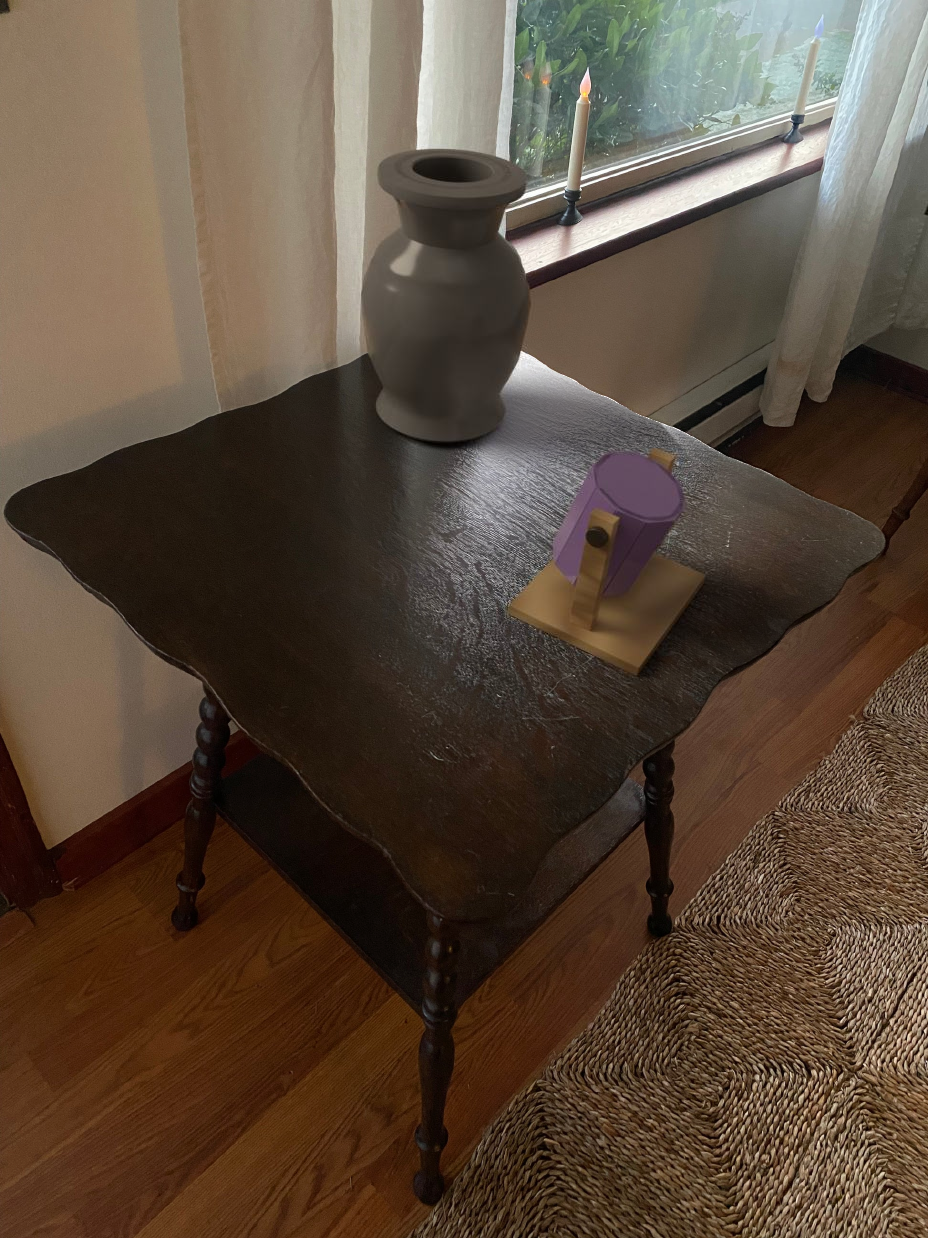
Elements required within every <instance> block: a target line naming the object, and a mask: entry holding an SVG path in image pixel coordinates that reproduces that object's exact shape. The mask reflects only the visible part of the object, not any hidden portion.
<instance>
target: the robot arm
mask: <svg viewBox="0 0 928 1238" xmlns="http://www.w3.org/2000/svg"><path fill="white" fill-rule="evenodd" d="M926 83H927V84H926V85H927V86H928V80H927V81H926ZM923 215H924V216H928V205H927V206H926V209H925V211H924V213H923Z"/></svg>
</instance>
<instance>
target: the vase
mask: <svg viewBox="0 0 928 1238" xmlns="http://www.w3.org/2000/svg"><path fill="white" fill-rule="evenodd" d="M376 172H377V173H376V177H377V181H378V182H377V183H378V185H379V187H380V188H381V189H382V190H383V191H384V192H385V193H387V194H389V196H392V199H394V201H395V203H396V208H397V211H398V217H399V221H400V226H399V227H398V228H396V229H395V230H394V231H392V232H390V233H389V234H388V235H387V236H385V237H384V238H383V239H382V240H381V241H380V242H379V244H378V245H377V247H376V248H375V251H374V254H373V257H372V258H371V259H370V261H369V262H370V263H369V264H368V267H367V268H366V272H365V274H364V277H363V280H362V287H361V290H360V291H361V292H360V296H361V299H360V300H361V313H362V321H363V327H364V335H365V343H366V350H367V354H368V356H369V358H370V361H371V363H372V366H373V369H374V371H375V373H376V375H377V377H378V379H379V381H380V383H381V385H382V387H383V388H382V390H380V393H379V394H378V396H377V398H376V401H375V410H376V413H377V414H378V417H379V418H380V419H381V420H382V421H383V422H384V423H385V424H386V425H388V426H389V427H390V428H392V429H393V430H394V431H396V432H398V433H399V434H401V435H403V436H405V437H409V438H411V439H414V440H417V441H421V442H427V443H433V444H455V443H463V442H467V441H468V442H469V441H472V440H476V439H478V438H480V437H482V436H485V435H486V434H488V433H490V432H491V431H493V430H495V429H496V428H497V427H499V426H500V424H501V423H502V422H503V420H504V418H505V416H506V405H505V403H504V400H503V398H502V396H501V392H502V390H503V389H504V387H505V386H506V385H507V383H508V381H509V379H510V378H511V376H512V375H513V373H514V371H515V368H516V367H517V364H518V363H519V360H520V357H521V353H522V349H523V345H524V340H525V335H526V333H527V329H528V323H529V318H530V312H531V306H532V301H531V299H532V298H531V286H530V283H529V280H528V277H527V273H526V271H525V268H524V266H523V263H522V259H521V256H520V254H519V252H518V250H517V249H516V248H515V246H514V245H512V243H511V242H510V241H509V240H507V239H506V238H505V237H504V236H503V235H502V234H501V233H500V232H499V231H500V227H501V226H502V221H503V218H504V215H505V213H506V209H507V208H509V206H510V205H511V204H513V203H515V202H517V201H518V200H520V199H521V198H523V196H524V195H525V193H526V191H527V186H528V176H527V173H526V171H525V170H524V169H523V168H521V167H520V166H519V165H517V164H516V163H514V162H512V161H510V160H507V159H505V158H502V157H499V156H496V155H492V154H490V153H484V152H479V151H473V150H467V149H457V148H423V149H422V148H421V149H413V150H407V151H403V152H398V153H395V154H392V155H389V156H387V157H386V158H384V159H383V160H381V161H380V163H379V164H378V166H377V171H376Z"/></svg>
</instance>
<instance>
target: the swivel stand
mask: <svg viewBox="0 0 928 1238" xmlns="http://www.w3.org/2000/svg"><path fill="white" fill-rule="evenodd" d="M676 457H677V456H676V455H675V454H673V453H669V452H667V451H665V450H662V449H659V448H657V447H653V448H651V450H650V451H649V452H648V455H647V458H650V459H652V460H654V461H657V462H659V463H661V464H662V465H663V466H664V467H665V468H666V469H667V470H668V471H669V472H670V473H671V474H673V469H674V465H675V462H676ZM619 519H620V518H619V517H617V516H615V515H612V514H610V513H608V512H605V511H603V510H600V509H598V508H595V509H594V510H593V512H592V513H591V514H590V517H589V523H588V528H587V532H586V538H585V543H584V548H583V553H582V558H581V563H580V568H579V573H578V578H577V584H576V587H575V586H574V585H572V584H571V582H570V581H569V580H568V579H567V578H566V577H565V576H564V575H563V573H562V572H561V571H560V570H559V569H558V568H557V567H556V565H555V563H554V557H553V558H552V559H551V561H549V562H548V563H547V564H546V565H545V566H544V568H542V570H541V571H540V572H539V573H538V574H537V575H536V576H535V577H534V578H533V579H532V580H531V581H530V582H529V583H528V585H526V586H525V588H524V589H522V591H521V592H520V593H519V594H518V595H517V596H516V597H515V598H514V599H513V600H512V601H511V602H510V603H509V604H508V609H507V615H509V616H511V617H514V618H515V619H518V620H519V621H522V622H523V623H526V624H527V625H530V626H532V627H534V628H536V629H538V630H540V631H542V632H545V633H546V634H549V635H550V636H553V637H555V638H557V639H559V640H561V641H563V642H565V643H567V644H569V645H571V646H573V647H575V648H578V649H580V650H581V651H584V652H586V653H588V654H590V655H592V656H594V657H596V658H598V659H600V660H602V661H605V662H606V663H608V664H610V665H613V666H615V667H616V668H619V669H621V670H623V671H624V672H627V673H629V674H631V675H633V676H635V677H638V675H639V674H640V673H641V671H642V670H643V668H644V667H645V666H646V664H647V663H648V662H649V660H651V659H650V658H651V657H652V656H653V655H654V653H655V652H656V650H657V649H658V648H659V647H660V645H661V644H662V642H663V641H664V639H665V637H667V635H668V633H669V632H670V631H671V629H672V628H673V627H674V625H675V624H676V622H677V621H678V620H679V618H680V617H681V616H682V614H683V613H684V611H685V610H686V609H687V607H688V606H689V604H690V603H691V602H692V600H693V599H694V598H695V596H696V595H697V593H698V592H699V591H700V589H702V586H703V584H704V583H705V581H706V577H707V574H705V573H703V572H701V571H698V570H696V569H693V568H691V567H689V566H686V565H684V564H682V563H679V562H677V561H674V560H672V559H669V558H667V557H665V556H663V555H660V554H658V553H657V552H656V553H655V555H654V556H653V558H652V560H651V561H650V563H649V564H648V566H647V567H646V569H645V570H644V572H643V573H642V575H641V576H640V578H639V579H638V581H637V582H636V583H635V584H634V586H633V587H632V588H631V589H630V590H629V592H628V593H627V594H625V595H616V596H607V597H602V594H603V590H604V586H605V581H606V577H607V572H608V568H609V563H610V559H611V555H612V550H613V546H614V541H615V537H616V532H617V528H618V524H619Z"/></svg>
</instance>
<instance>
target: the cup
mask: <svg viewBox="0 0 928 1238" xmlns="http://www.w3.org/2000/svg"><path fill="white" fill-rule="evenodd" d="M595 508H598V509H600V510H603V511H605V512H608V513H610V514H612V515H615V516H617V517H619V518H620V519H619V524H618V528H617V532H616V537H615V541H614V546H613V550H612V555H611V559H610V563H609V568H608V572H607V577H606V581H605V586H604V590H603V594H602V597H607V596H616V595H625V594H627V593H628V592H629V590H630V589H631V588H632V587H633V586H634V584H635V583H636V582H637V581H638V579H639V578H640V576H641V575H642V573H643V572H644V570H645V569H646V567H647V566H648V564H649V563H650V561H651V560H652V558H653V556H654V555H655V553H656V554H657V552H658V550H659V549H660V548H661V546H662V544H663V543H664V541H665V540H666V538H667V537H668V535H669V534H670V532H671V530H672V529H673V527H675V526H674V525H675V524H676V523H677V522H678V520H679V518H680V517H681V515H682V514H683V512H684V511H685V509H686V508H687V501H686V498H685V493H684V490H683V485H682V483H681V482H680V481H679V480H678V479H677V478H676V477H675V476H674V475H673V473H670V472H669V471H668V470H667V469H666V468H665V467H664V466H663V465H662V464H661V463H659V462H657V461H654V460H652V459H650V458H648V456H645V455H642V454H639V453H638V452H635V451H632V450H625V451H624V450H623V451H605V452H604V453H603V454H602V455H601V456H600V457H599V458H598V459H597V460H596V461H595V462H594V463H593V464H592V465H591V467H590V469H589V470H588V472H587V474H586V477H585V478H584V481H583V482H582V484H581V485H580V489H579V490H578V492H577V494H576V496H575V497H574V500H573V501H572V504H571V505H570V508H569V510H568V511H567V513H566V514H565V517H564V519H563V521H562V523H561V525H560V527H559V528H558V531H557V532H556V535H555V537H554V538H553V540H552V543H551V545H552V553H553V558H554V563H555V565H556V567H557V568H558V569H559V570H560V571H561V572H562V573H563V575H564V576H565V577H566V578H567V579H568V580H569V581H570V582H571V584H572V585H574V586H575V587H576V584H577V578H578V573H579V568H580V563H581V558H582V553H583V548H584V543H585V538H586V532H587V528H588V523H589V517H590V514H591V513H592V512H593V510H594V509H595Z"/></svg>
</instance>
